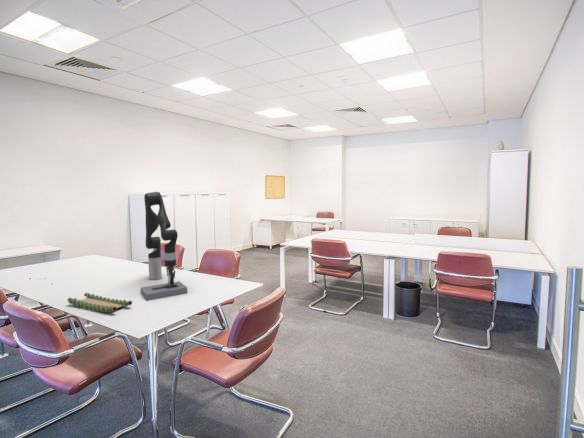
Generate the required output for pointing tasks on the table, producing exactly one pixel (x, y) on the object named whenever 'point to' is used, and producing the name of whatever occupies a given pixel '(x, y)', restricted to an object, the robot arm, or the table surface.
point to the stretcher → (99, 303)
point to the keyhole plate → (163, 290)
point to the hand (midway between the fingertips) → (171, 283)
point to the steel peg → (169, 283)
